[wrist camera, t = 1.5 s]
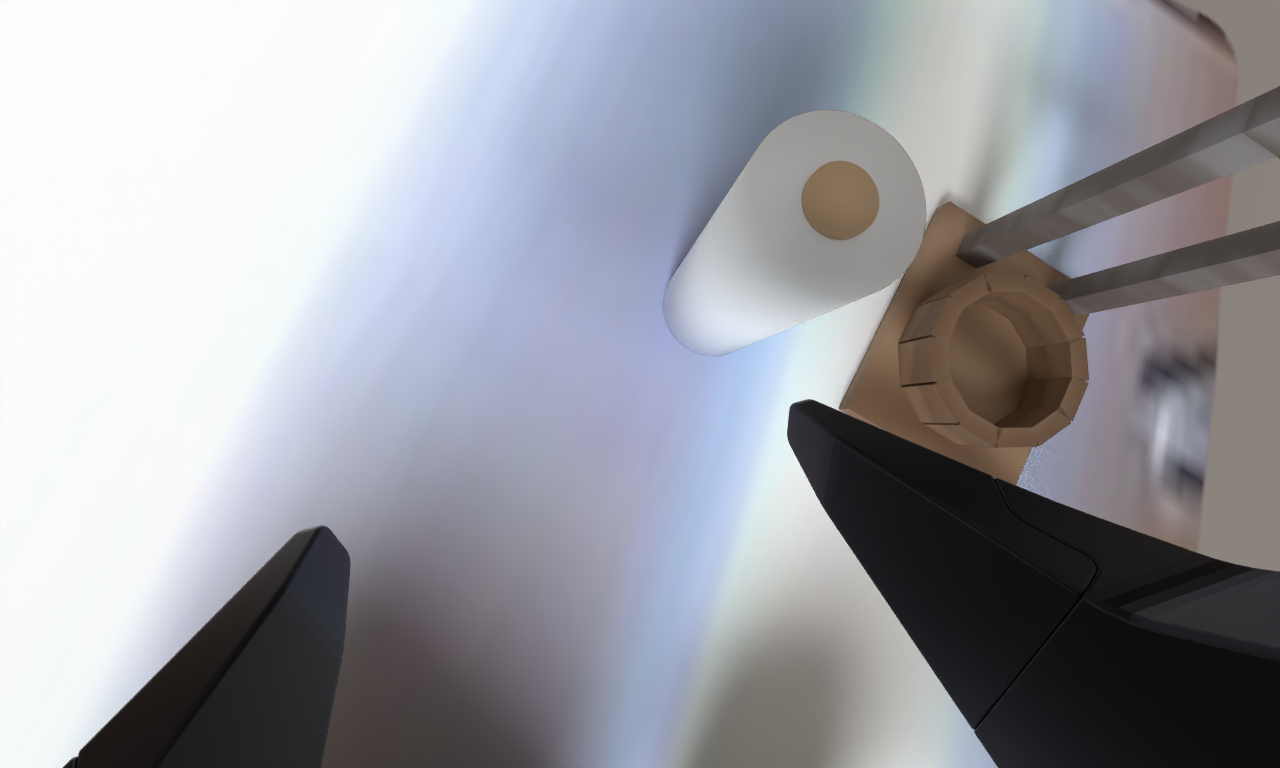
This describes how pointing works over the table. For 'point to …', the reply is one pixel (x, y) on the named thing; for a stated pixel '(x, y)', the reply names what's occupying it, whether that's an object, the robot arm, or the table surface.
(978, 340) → the stand
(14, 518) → the table surface
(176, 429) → the table surface
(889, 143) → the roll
